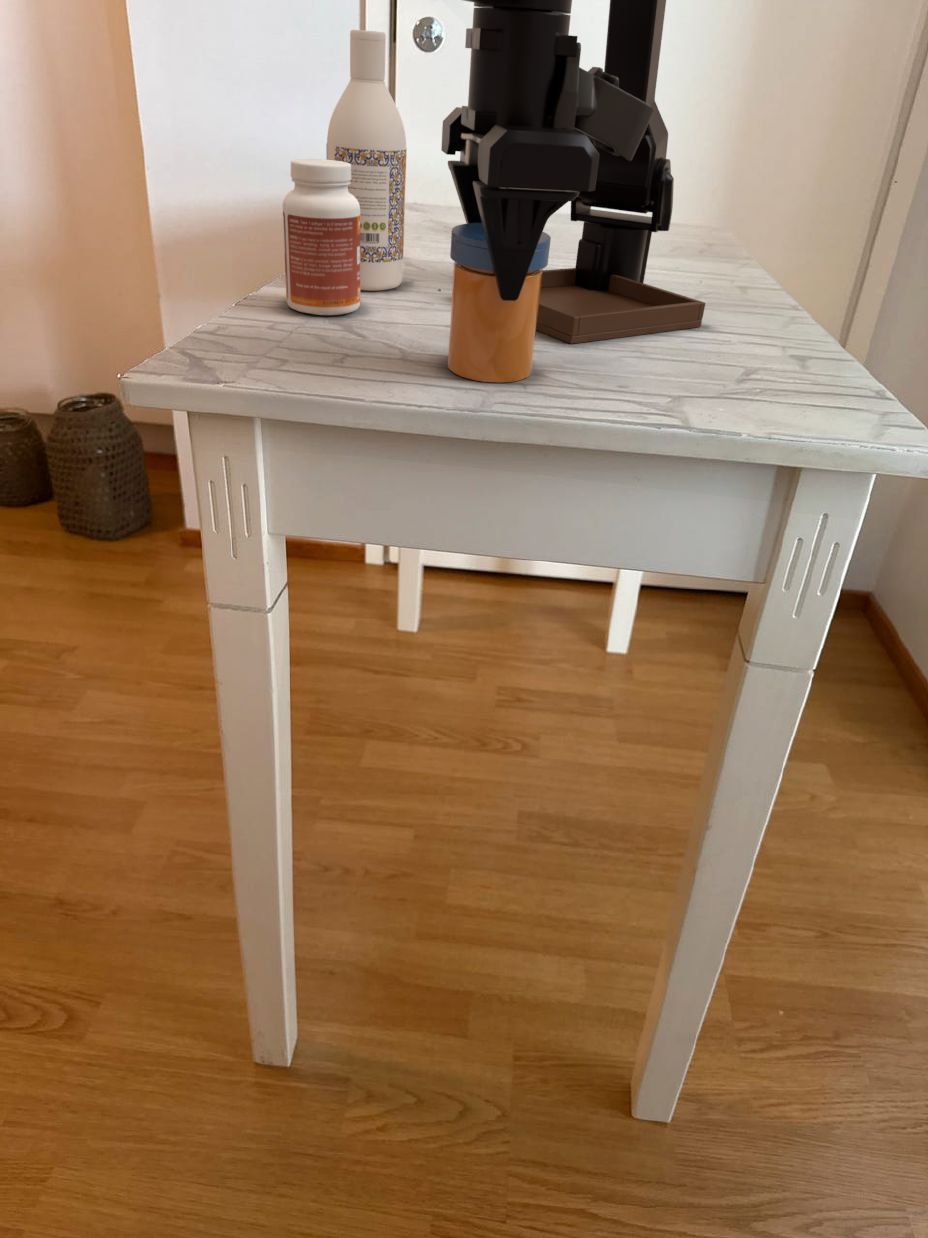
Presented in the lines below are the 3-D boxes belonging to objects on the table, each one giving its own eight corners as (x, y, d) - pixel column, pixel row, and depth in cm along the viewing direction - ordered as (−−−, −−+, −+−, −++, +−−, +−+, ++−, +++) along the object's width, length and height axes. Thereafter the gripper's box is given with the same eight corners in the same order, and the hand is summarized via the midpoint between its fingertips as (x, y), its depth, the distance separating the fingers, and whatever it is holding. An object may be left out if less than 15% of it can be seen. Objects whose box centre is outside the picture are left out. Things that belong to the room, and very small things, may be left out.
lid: (436, 263, 58) (438, 235, 57) (464, 244, 63) (465, 218, 62) (536, 277, 57) (539, 249, 56) (555, 256, 62) (559, 230, 61)
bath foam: (413, 290, 83) (423, 34, 73) (343, 293, 80) (342, 27, 70) (386, 274, 88) (391, 33, 78) (318, 276, 86) (314, 26, 75)
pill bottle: (373, 313, 75) (375, 166, 69) (306, 319, 72) (302, 166, 66) (339, 296, 79) (338, 156, 73) (274, 301, 76) (268, 156, 70)
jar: (491, 349, 68) (502, 230, 63) (548, 373, 64) (564, 249, 59) (430, 362, 64) (436, 238, 59) (487, 388, 61) (498, 258, 56)
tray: (587, 288, 89) (590, 266, 88) (701, 326, 79) (706, 302, 78) (462, 299, 82) (464, 275, 80) (570, 343, 71) (574, 317, 70)
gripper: (713, 21, 46) (658, 328, 55) (606, 23, 62) (576, 263, 70) (502, 2, 44) (479, 324, 53) (446, 10, 60) (435, 258, 68)
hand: (499, 287), depth 61 cm, fingers closed on lid, 6 cm apart
